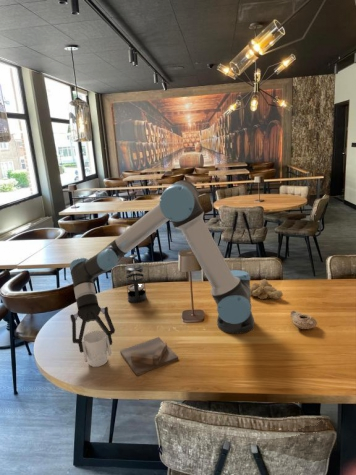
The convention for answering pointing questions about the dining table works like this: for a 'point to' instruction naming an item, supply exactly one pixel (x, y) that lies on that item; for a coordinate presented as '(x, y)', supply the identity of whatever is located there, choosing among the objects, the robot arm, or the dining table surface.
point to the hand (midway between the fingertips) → (98, 357)
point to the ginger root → (264, 290)
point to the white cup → (96, 348)
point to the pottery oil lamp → (303, 320)
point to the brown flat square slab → (148, 355)
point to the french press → (135, 283)
